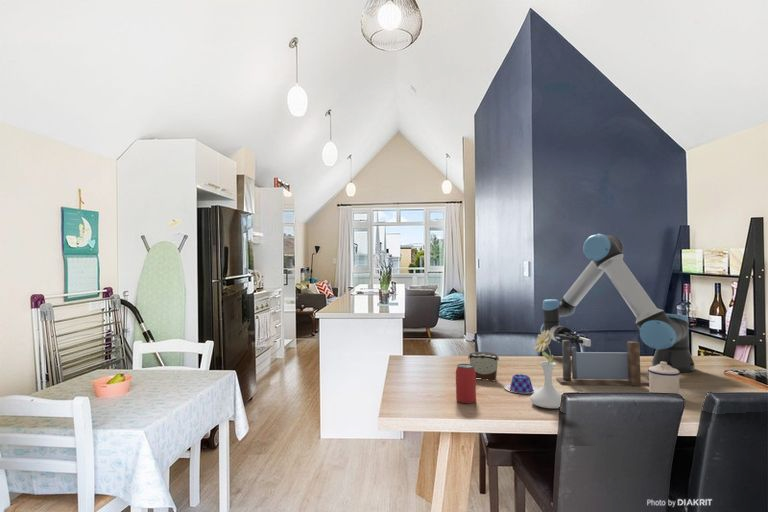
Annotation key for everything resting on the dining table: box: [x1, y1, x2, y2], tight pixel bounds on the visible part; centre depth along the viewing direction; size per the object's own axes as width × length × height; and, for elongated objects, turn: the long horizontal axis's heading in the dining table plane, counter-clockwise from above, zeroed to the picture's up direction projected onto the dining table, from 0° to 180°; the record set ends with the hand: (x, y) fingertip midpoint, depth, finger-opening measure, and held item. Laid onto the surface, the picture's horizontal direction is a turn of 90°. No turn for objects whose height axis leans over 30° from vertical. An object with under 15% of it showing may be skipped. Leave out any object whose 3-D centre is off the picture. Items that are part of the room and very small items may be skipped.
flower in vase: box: [529, 330, 563, 409], centre depth 137 cm, size 13×11×25 cm
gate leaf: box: [571, 346, 628, 380], centre depth 161 cm, size 21×2×12 cm, turn 83°
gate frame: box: [555, 340, 649, 387], centre depth 161 cm, size 32×7×16 cm, turn 84°
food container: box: [467, 351, 500, 382], centre depth 171 cm, size 12×6×10 cm, turn 65°
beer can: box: [455, 363, 477, 405], centre depth 144 cm, size 7×7×12 cm
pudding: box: [504, 373, 540, 395], centre depth 155 cm, size 12×12×5 cm
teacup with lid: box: [646, 362, 681, 395], centre depth 146 cm, size 12×9×12 cm
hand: (589, 343), depth 175 cm, fingers closed
